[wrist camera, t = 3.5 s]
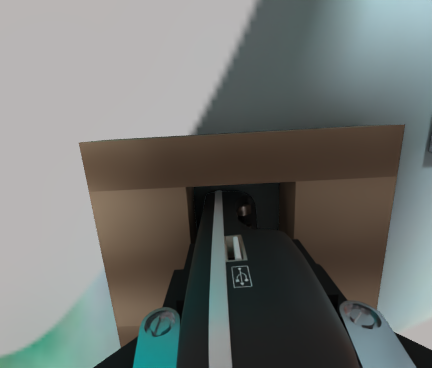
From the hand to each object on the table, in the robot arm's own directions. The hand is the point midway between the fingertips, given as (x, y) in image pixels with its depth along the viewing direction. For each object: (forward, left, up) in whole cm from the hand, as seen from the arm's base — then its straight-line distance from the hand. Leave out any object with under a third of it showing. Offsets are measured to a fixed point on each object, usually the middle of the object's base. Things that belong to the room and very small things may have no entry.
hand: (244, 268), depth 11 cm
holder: (0, 0, -4) cm, 4 cm away
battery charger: (0, 0, -4) cm, 4 cm away
